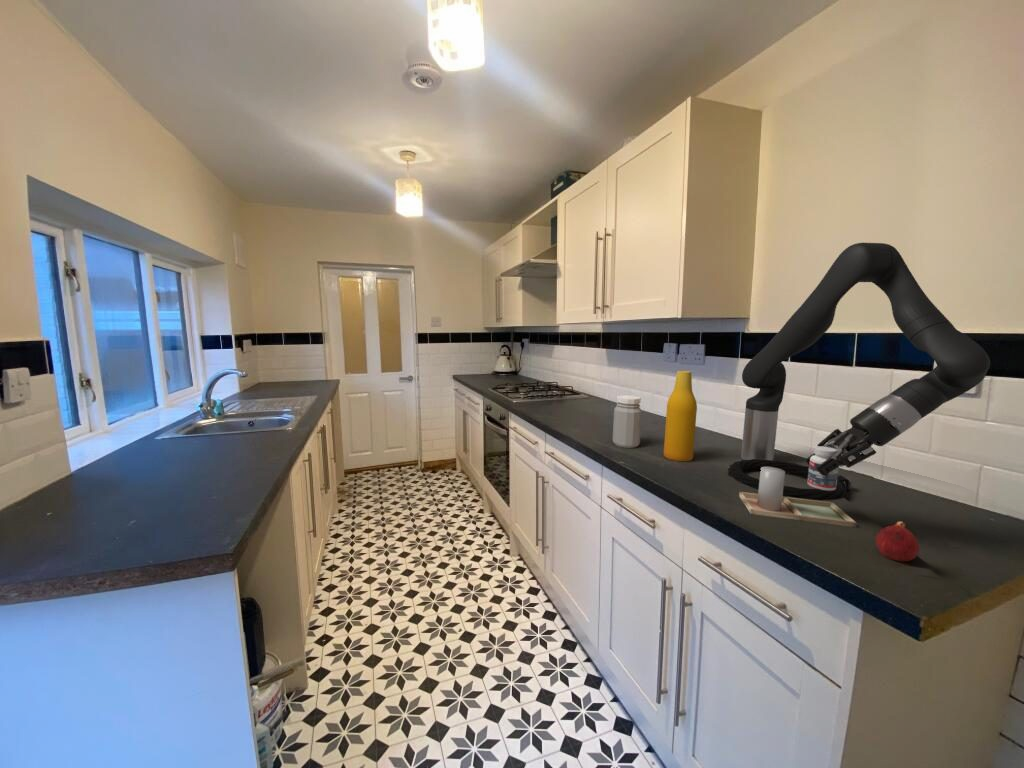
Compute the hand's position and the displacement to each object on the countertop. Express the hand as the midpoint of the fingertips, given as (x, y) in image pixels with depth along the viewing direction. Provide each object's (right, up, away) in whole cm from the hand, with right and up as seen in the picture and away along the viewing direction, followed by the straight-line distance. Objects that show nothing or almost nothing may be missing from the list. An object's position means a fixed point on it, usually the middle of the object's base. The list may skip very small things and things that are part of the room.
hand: (814, 467), depth 92 cm
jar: (-26, -4, +59) cm, 64 cm away
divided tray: (-3, -11, +2) cm, 12 cm away
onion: (+2, -14, -17) cm, 22 cm away
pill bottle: (+2, -4, 0) cm, 5 cm away
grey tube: (-8, -10, +4) cm, 13 cm away
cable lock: (+9, -10, +22) cm, 25 cm away
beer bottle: (-13, -6, +44) cm, 47 cm away
